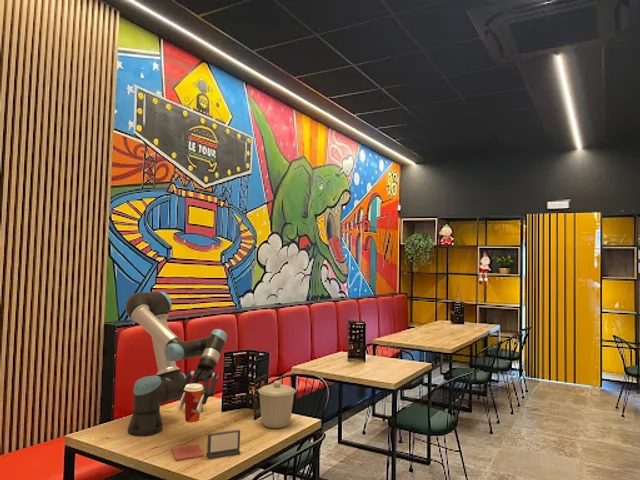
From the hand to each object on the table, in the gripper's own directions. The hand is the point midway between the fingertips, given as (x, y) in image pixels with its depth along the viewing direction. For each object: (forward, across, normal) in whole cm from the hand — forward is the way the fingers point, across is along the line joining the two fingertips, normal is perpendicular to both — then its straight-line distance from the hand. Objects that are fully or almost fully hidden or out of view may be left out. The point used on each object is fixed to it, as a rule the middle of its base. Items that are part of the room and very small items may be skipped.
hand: (188, 409), depth 188 cm
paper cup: (+1, 0, -6) cm, 6 cm away
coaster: (+11, +1, -14) cm, 18 cm away
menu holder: (+9, -14, -16) cm, 23 cm away
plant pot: (-23, +23, -50) cm, 59 cm away
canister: (-18, -23, -44) cm, 53 cm away
